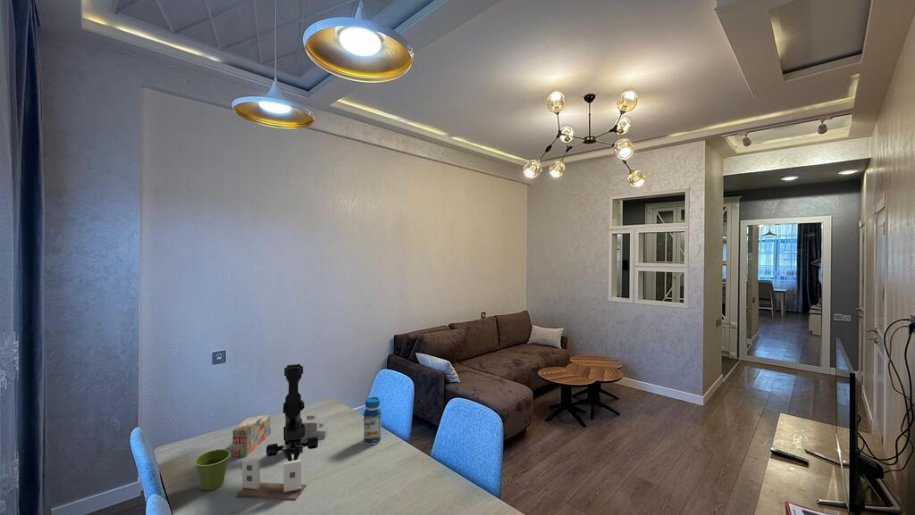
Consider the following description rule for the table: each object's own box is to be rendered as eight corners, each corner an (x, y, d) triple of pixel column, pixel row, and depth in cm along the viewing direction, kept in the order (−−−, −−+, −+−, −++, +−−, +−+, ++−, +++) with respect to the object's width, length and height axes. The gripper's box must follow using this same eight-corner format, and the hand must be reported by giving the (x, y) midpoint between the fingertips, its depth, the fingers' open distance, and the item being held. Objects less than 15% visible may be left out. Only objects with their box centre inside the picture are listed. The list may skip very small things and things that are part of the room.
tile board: (249, 483, 148) (249, 481, 147) (306, 486, 146) (306, 484, 146) (235, 496, 140) (235, 495, 140) (295, 499, 138) (295, 498, 138)
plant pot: (203, 499, 138) (203, 469, 138) (188, 488, 144) (188, 459, 144) (237, 482, 148) (236, 454, 148) (221, 473, 154) (221, 445, 154)
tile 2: (245, 486, 145) (245, 458, 144) (259, 487, 144) (259, 459, 144) (241, 489, 142) (241, 461, 142) (256, 490, 142) (256, 462, 141)
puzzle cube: (325, 439, 183) (325, 422, 182) (300, 439, 182) (300, 423, 182) (332, 427, 195) (332, 412, 194) (309, 427, 194) (309, 412, 194)
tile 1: (283, 490, 142) (283, 462, 142) (301, 487, 144) (301, 458, 144) (283, 494, 140) (283, 465, 140) (301, 490, 142) (301, 461, 142)
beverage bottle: (385, 439, 182) (385, 398, 182) (372, 447, 175) (372, 404, 175) (372, 434, 187) (372, 394, 186) (359, 442, 179) (359, 400, 179)
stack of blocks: (258, 433, 188) (258, 409, 188) (270, 433, 188) (270, 409, 188) (232, 457, 166) (232, 429, 166) (246, 457, 166) (246, 429, 166)
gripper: (266, 424, 145) (263, 468, 135) (317, 416, 152) (319, 457, 142) (268, 435, 153) (265, 477, 142) (317, 427, 160) (318, 467, 150)
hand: (292, 469), depth 144 cm, fingers closed
